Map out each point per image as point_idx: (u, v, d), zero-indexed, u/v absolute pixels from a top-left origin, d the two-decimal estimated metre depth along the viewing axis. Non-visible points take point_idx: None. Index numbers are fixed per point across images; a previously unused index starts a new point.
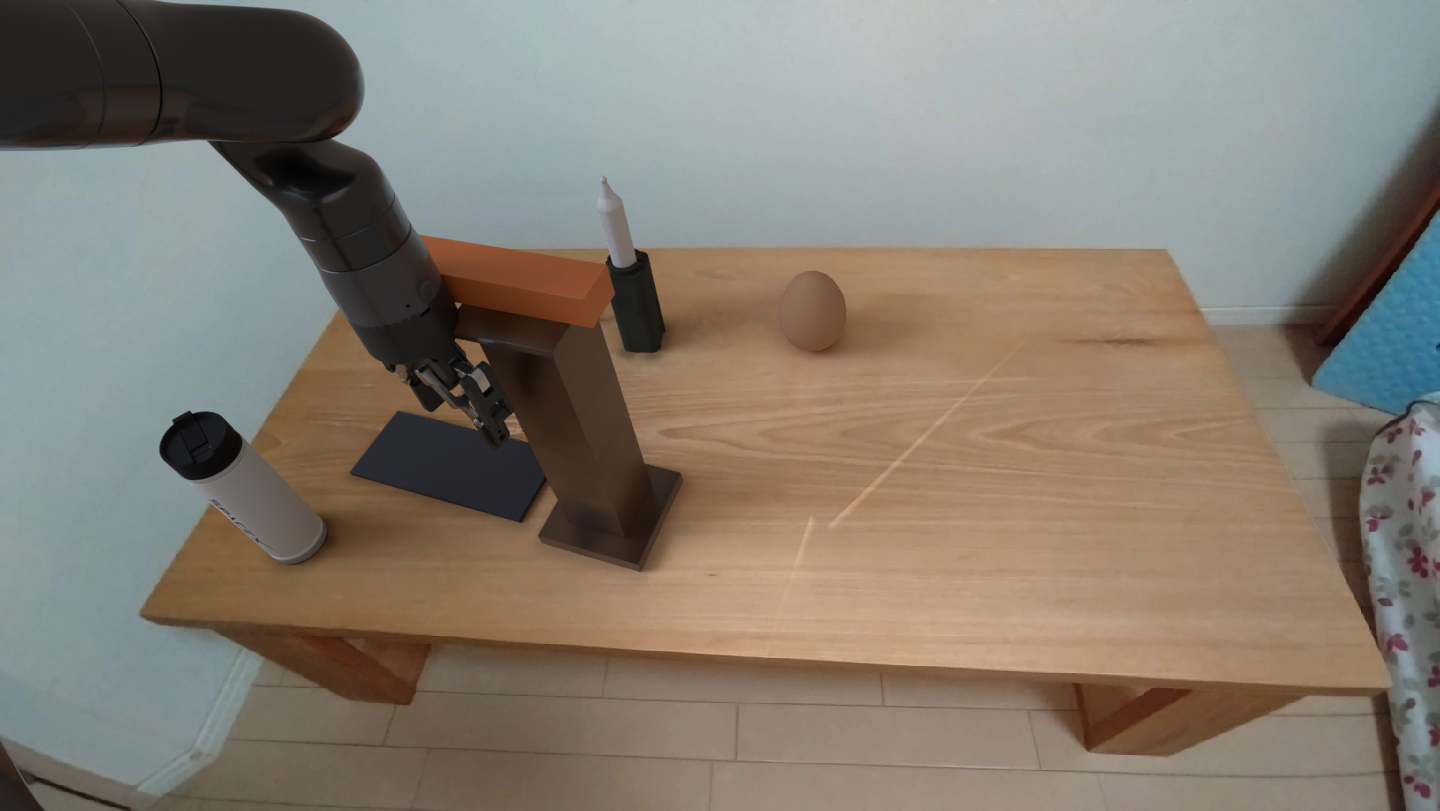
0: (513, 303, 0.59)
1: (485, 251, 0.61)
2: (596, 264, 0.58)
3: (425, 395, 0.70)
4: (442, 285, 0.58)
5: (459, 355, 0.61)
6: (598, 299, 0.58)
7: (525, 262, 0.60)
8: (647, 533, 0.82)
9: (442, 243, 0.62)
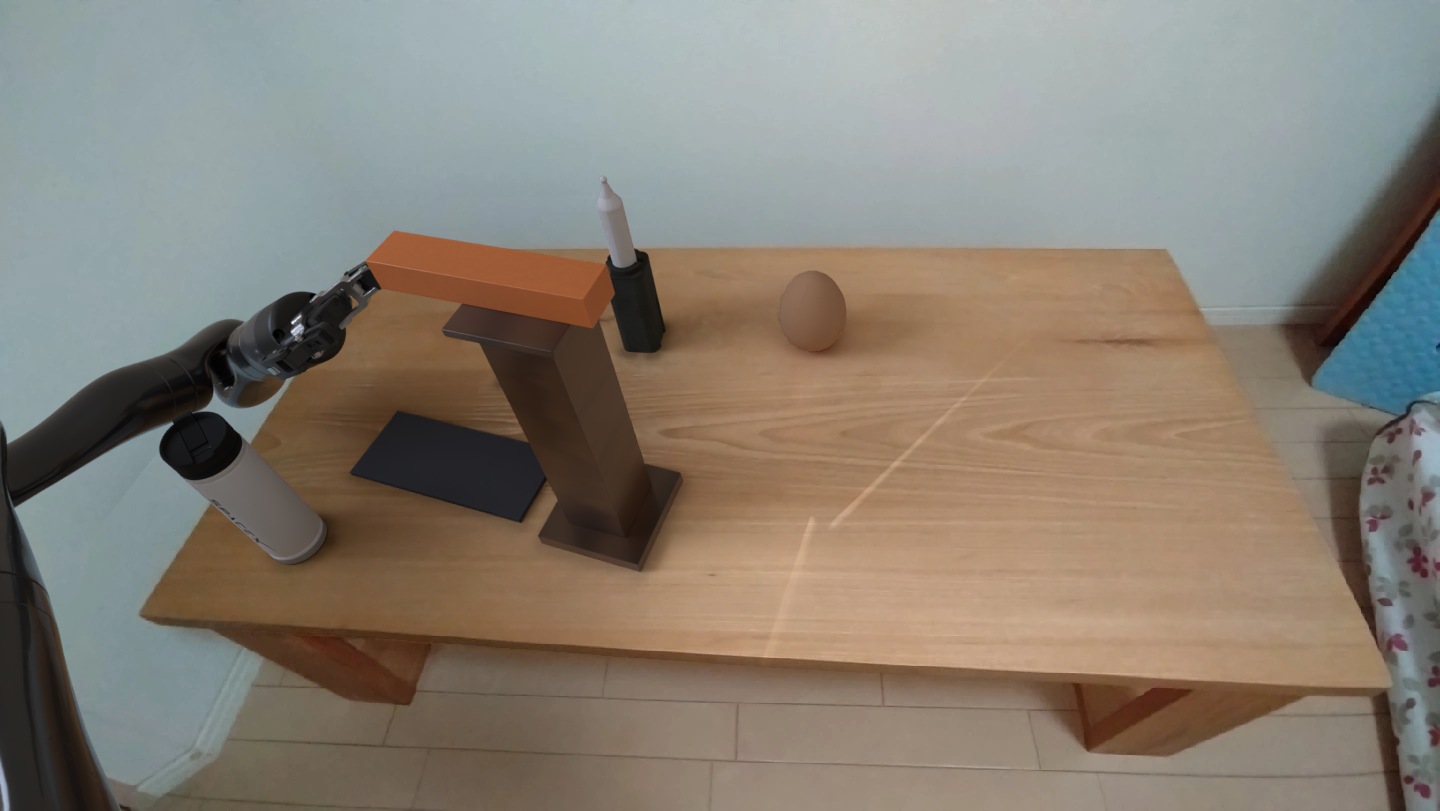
0: (513, 303, 0.59)
1: (485, 251, 0.61)
2: (596, 264, 0.58)
3: None
4: (255, 334, 0.78)
5: (283, 347, 0.75)
6: (598, 299, 0.58)
7: (525, 262, 0.60)
8: (647, 533, 0.82)
9: (442, 243, 0.62)
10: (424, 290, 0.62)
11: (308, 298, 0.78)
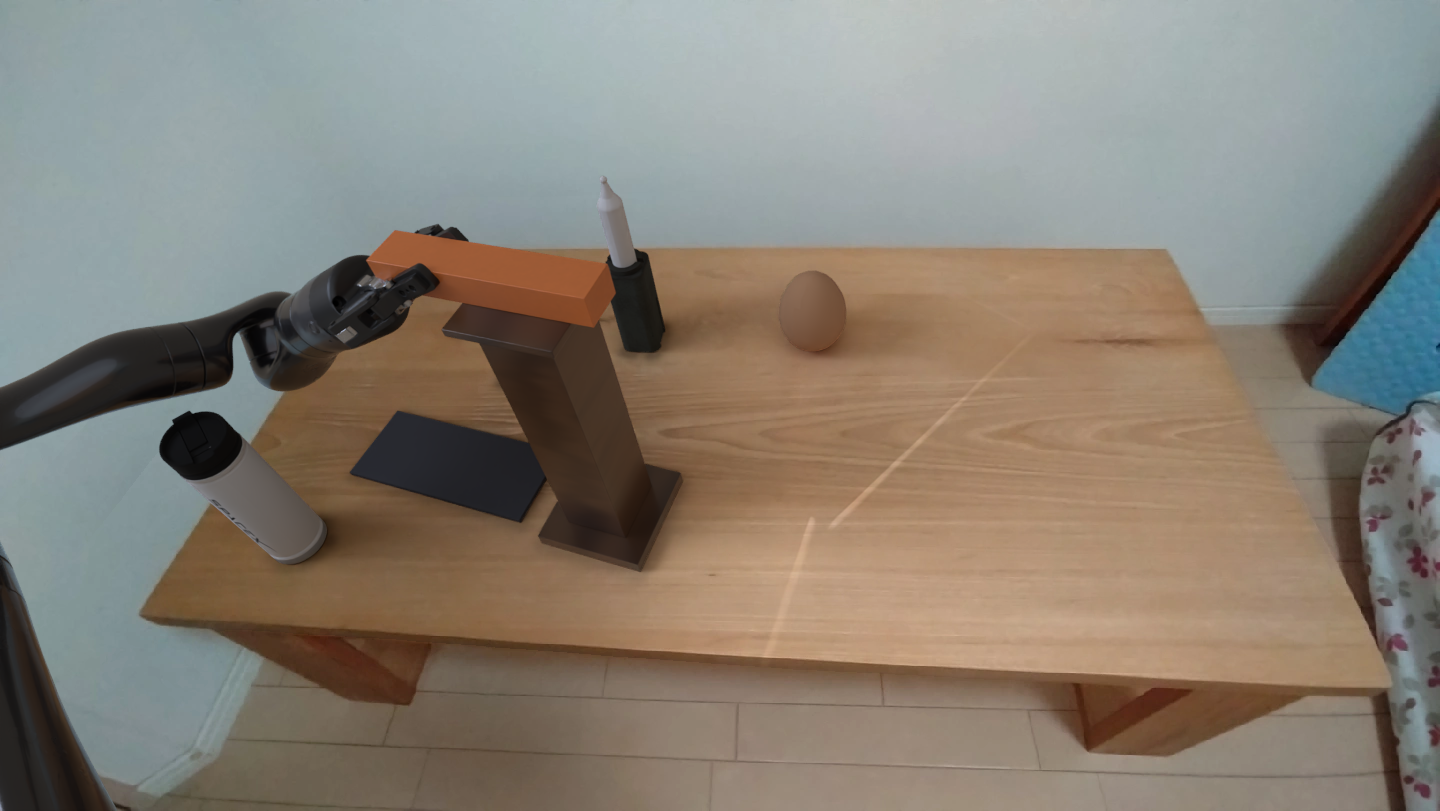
0: (514, 302, 0.59)
1: (486, 250, 0.61)
2: (597, 263, 0.58)
3: None
4: (310, 303, 0.69)
5: None
6: (599, 298, 0.58)
7: (526, 261, 0.60)
8: (647, 533, 0.82)
9: (443, 243, 0.62)
10: None
11: None
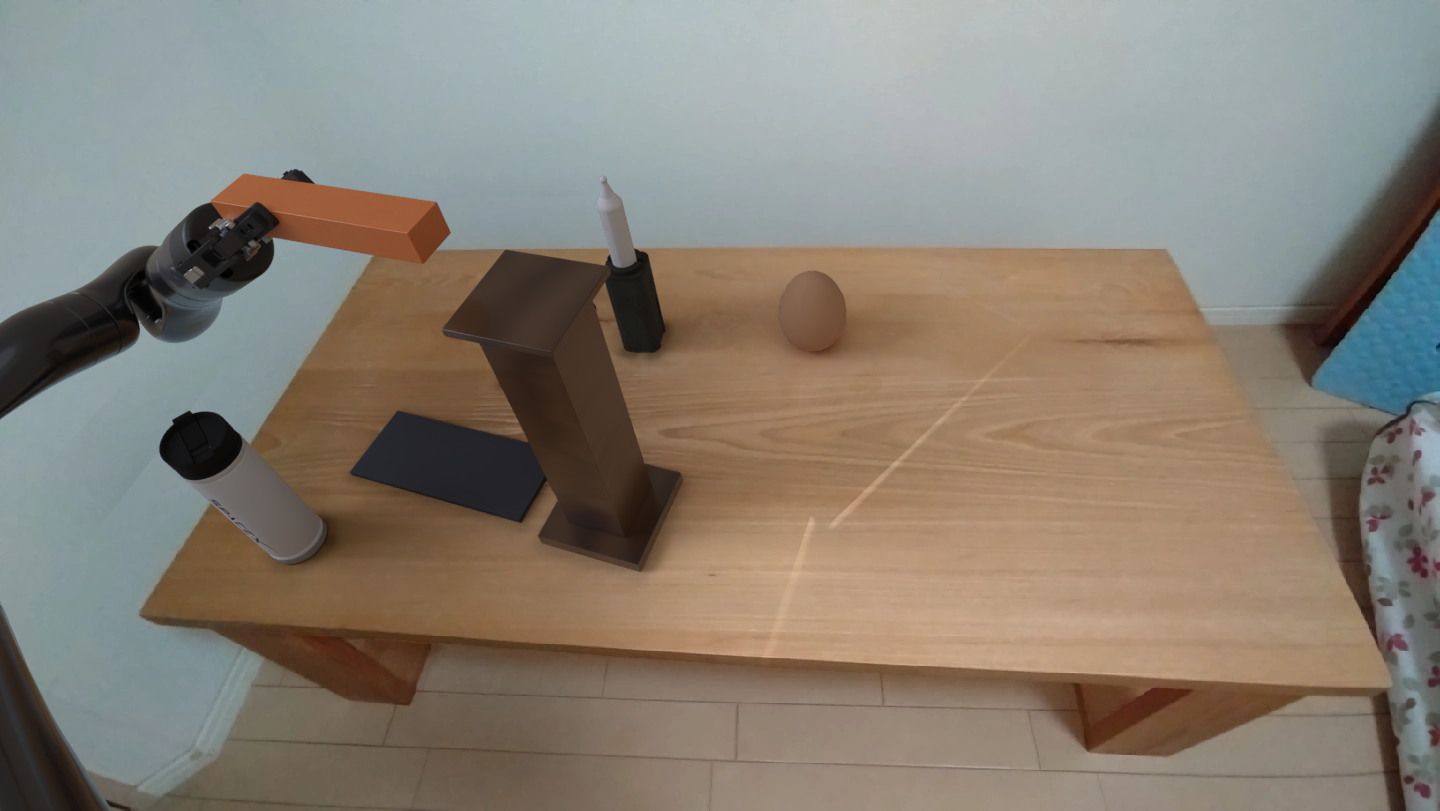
0: (348, 240, 0.61)
1: (325, 191, 0.62)
2: (427, 202, 0.60)
3: None
4: (170, 249, 0.70)
5: None
6: (428, 235, 0.60)
7: (360, 200, 0.61)
8: (647, 533, 0.82)
9: (286, 184, 0.64)
10: None
11: None
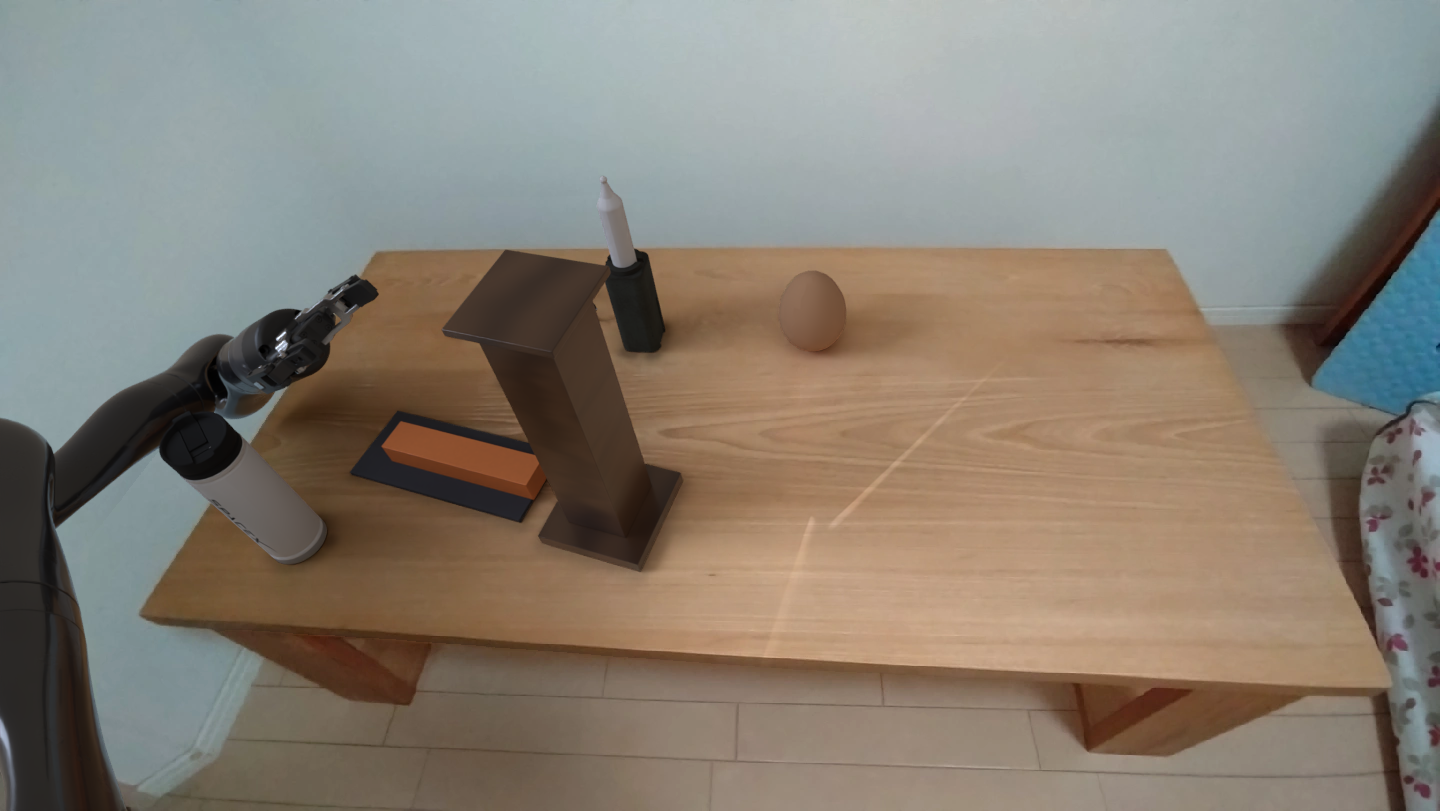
0: (481, 481, 0.88)
1: (463, 442, 0.90)
2: None
3: (362, 299, 0.78)
4: (242, 350, 0.81)
5: None
6: (537, 480, 0.87)
7: (489, 452, 0.89)
8: (647, 533, 0.82)
9: (434, 434, 0.91)
10: (421, 466, 0.91)
11: (293, 315, 0.82)
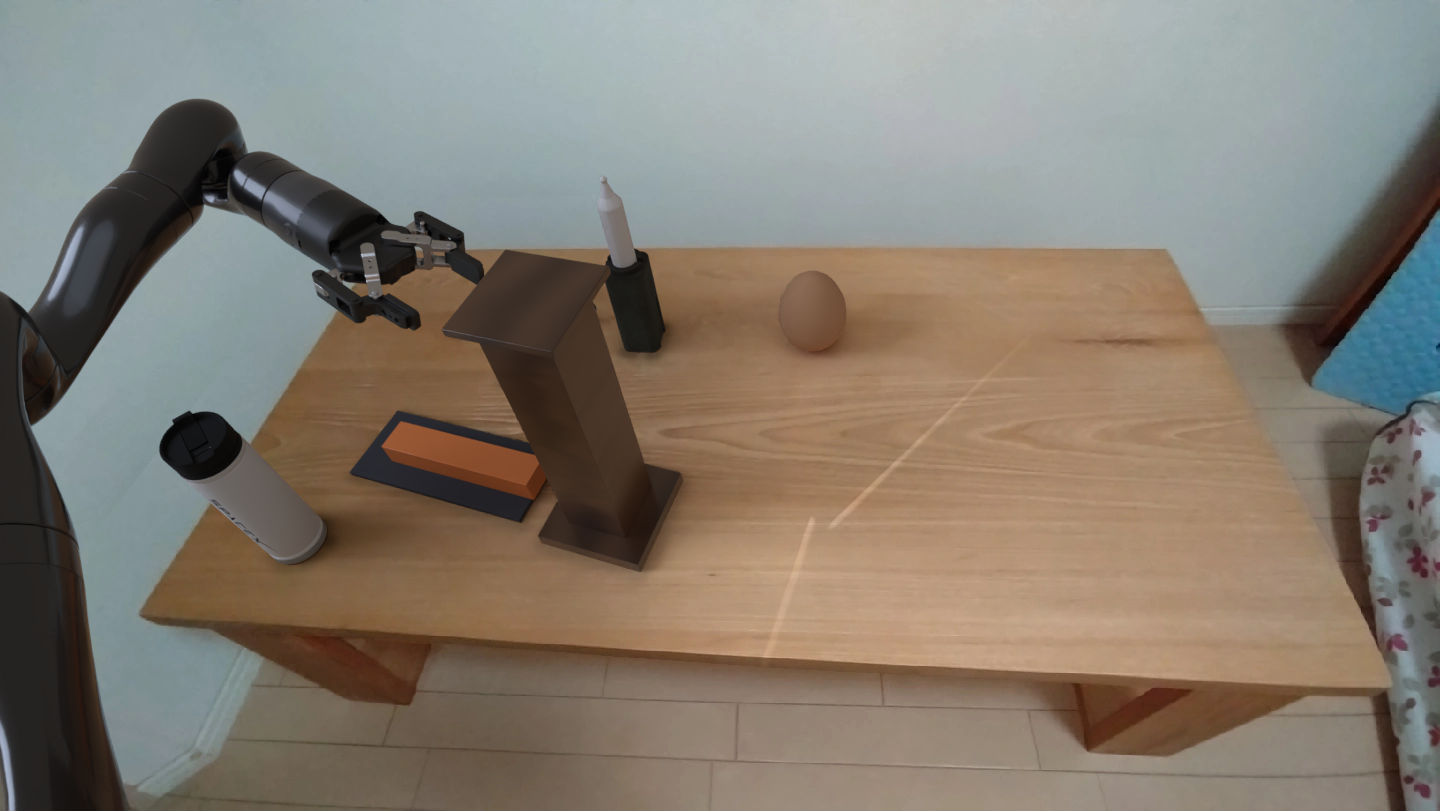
0: (481, 481, 0.88)
1: (463, 442, 0.90)
2: None
3: (463, 272, 0.77)
4: (302, 216, 0.73)
5: (335, 264, 0.73)
6: (537, 480, 0.87)
7: (489, 452, 0.89)
8: (647, 533, 0.82)
9: (434, 434, 0.91)
10: (421, 466, 0.91)
11: (375, 219, 0.76)
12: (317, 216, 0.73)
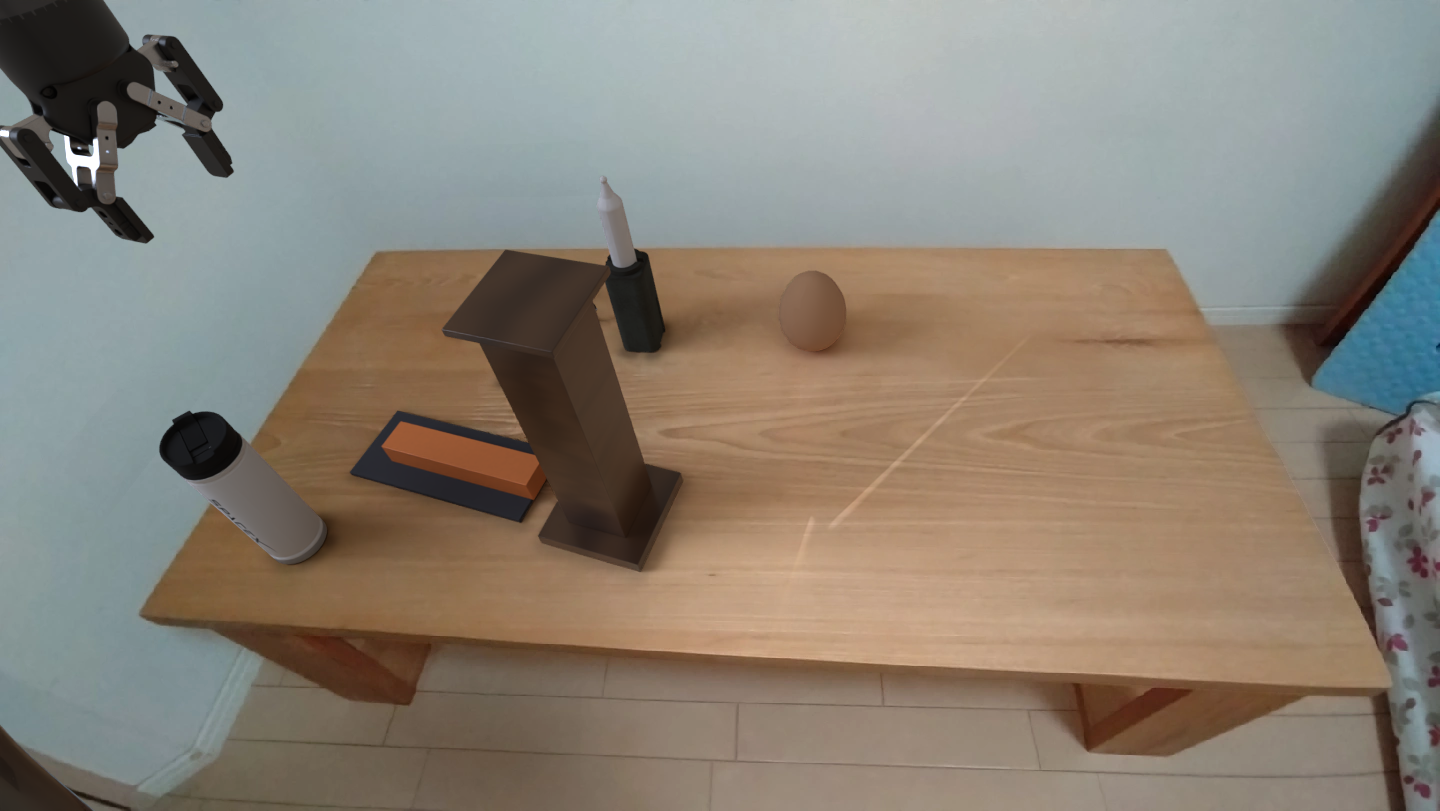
0: (481, 481, 0.88)
1: (463, 442, 0.90)
2: None
3: (199, 153, 0.61)
4: (17, 21, 0.46)
5: (44, 110, 0.50)
6: (537, 480, 0.87)
7: (489, 452, 0.89)
8: (647, 533, 0.82)
9: (434, 434, 0.91)
10: (421, 466, 0.91)
11: None
12: (50, 41, 0.48)
